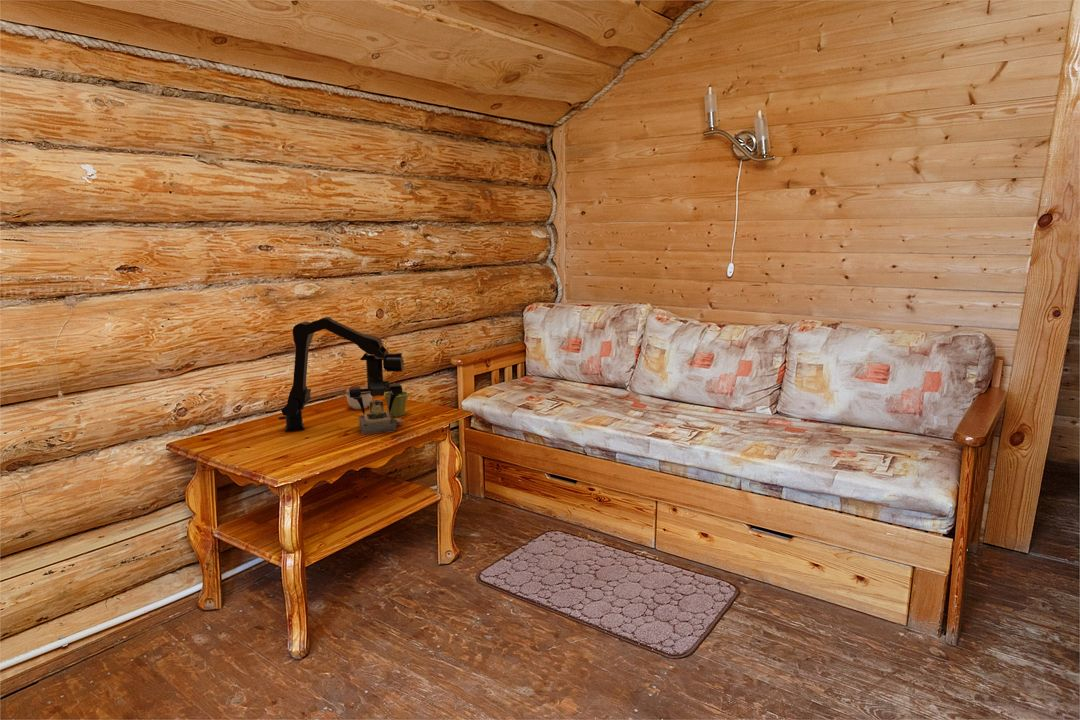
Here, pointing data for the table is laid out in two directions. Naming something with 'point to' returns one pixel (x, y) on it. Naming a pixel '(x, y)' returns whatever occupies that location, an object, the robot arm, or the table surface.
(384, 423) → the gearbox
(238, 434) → the table surface
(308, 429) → the table surface
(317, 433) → the table surface
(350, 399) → the lidded jar
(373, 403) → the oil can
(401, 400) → the plant pot
